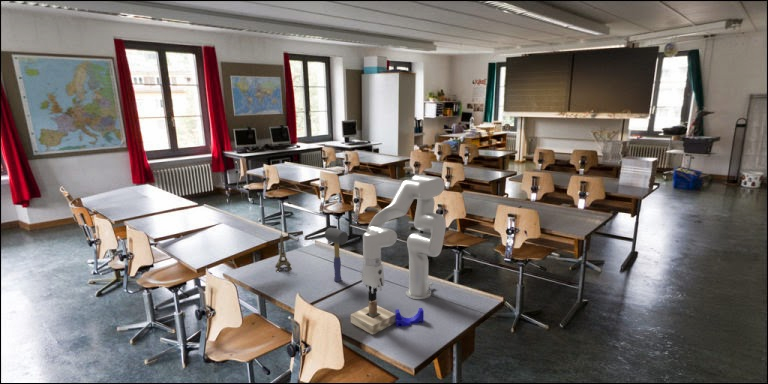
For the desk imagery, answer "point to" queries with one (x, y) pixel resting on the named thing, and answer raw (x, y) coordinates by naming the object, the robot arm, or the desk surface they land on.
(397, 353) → the desk surface
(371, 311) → the peg
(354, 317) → the board
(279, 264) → the eiffel tower
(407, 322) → the blue u-shaped cradle
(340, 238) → the rubber mallet
